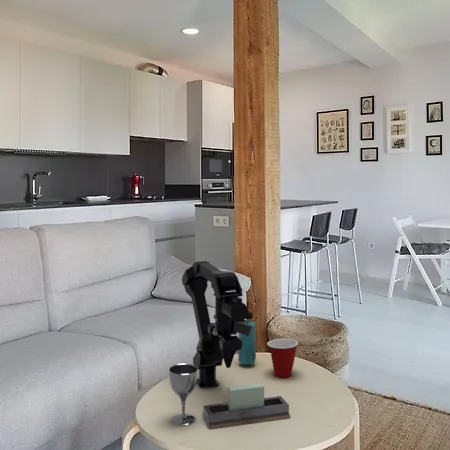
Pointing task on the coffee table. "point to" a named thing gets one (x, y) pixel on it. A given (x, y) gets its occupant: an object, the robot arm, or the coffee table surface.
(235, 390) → the pale green rectangular block
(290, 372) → the plastic cup
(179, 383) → the wine glass
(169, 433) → the coffee table surface
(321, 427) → the coffee table surface
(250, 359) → the beverage bottle
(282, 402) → the grey long open box
